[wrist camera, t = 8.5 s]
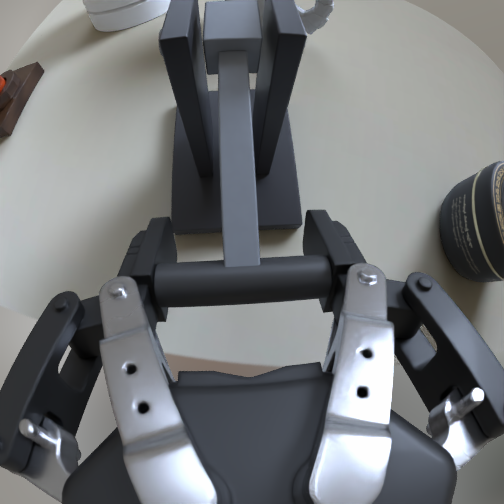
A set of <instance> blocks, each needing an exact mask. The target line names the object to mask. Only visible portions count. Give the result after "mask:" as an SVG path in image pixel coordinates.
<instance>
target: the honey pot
mask: <svg viewBox="0 0 504 504" xmlns="http://www.w3.org/2000/svg"><path fill="white" fill-rule="evenodd" d="M170 1H171V0H83V3H84V5H85V8H86V9H87V12H88V15H89V17H90V19H91V21H92V23H93V25H94V27H95V28H96V30H99V31H105V32H111V31H117V30H123V29H126V28H130V27H134V26H136V25H139V24H142V23H145V22H147V21H149V20H152V19H154V18H156V17H158V16H160V15H162V14H163V13H165V12H167V11H168V8H169V5H170Z"/></svg>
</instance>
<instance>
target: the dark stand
mask: <svg viewBox="0 0 504 504" xmlns="http://www.w3.org/2000/svg"><path fill="white" fill-rule="evenodd" d="M262 35H263V42H262V49H261V56H260V63H259V70H258V73H257V78H256V88H255V89H251V90H250V99H251V115H252V130H253V146H254V162H255V178H256V195H257V212H258V230H273V229H296V228H299V227H300V226H301V225H302V215H301V206H300V197H299V188H298V180H297V172H296V164H295V157H294V149H293V142H292V135H291V129H290V122H289V116H288V109H287V107H288V104H289V100H290V96H291V93H292V89H293V85H294V82H295V78H296V75H297V71H298V67H299V64H300V60H301V57H302V53H303V50H304V47H305V42H306V39H307V34H306V31H305V27H304V25H303V23H302V20H301V17H300V15H299V12H298V10H297V7H296V4H295V2H294V0H265V3H264V12H263V21H262ZM159 50H160V53H161V55H162V56H163V58H164V62H165V65H166V69H167V72H168V76H169V79H170V83H171V86H172V89H173V93H174V96H175V100H176V103H177V110H176V122H175V135H174V151H173V171H172V212H171V223H172V228H173V233H174V234H175V235H182V234H198V233H214V232H222V213H221V188H220V157H219V106H218V91H208V86H207V78H206V69H205V61H204V53H203V44H202V35H201V26H200V17H199V7H198V0H171V1H170V5H169V8H168V11H167V14H166V17H165V21H164V24H163V27H162V29H161V30H160V32H159Z"/></svg>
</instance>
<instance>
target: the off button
mask: <svg viewBox="0 0 504 504" xmlns="http://www.w3.org/2000/svg"><path fill="white" fill-rule="evenodd" d="M5 84H6V81H5V80H4V79H3V78H2V76H1V75H0V92H1V91H2V89H3V87H4V86H5Z"/></svg>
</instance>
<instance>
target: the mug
mask: <svg viewBox="0 0 504 504" xmlns="http://www.w3.org/2000/svg"><path fill="white" fill-rule="evenodd" d="M225 1H231V0H225ZM257 1H258V5H259V12H260V20H261V27H262V21H263V12H264V3H265V0H257ZM296 7H297V10H298V12H299V15H300V17H301V20H302V23H303V25H304V27H305V31H306V32H307V33H308V34H312V33H313V32H314V31H315V30H316V29H319V28H321V27H322V26H324V25H325V23H326V22H327V21H328V16H329V15H330V13H331V12H332V10H333V8H334V3H333V0H316V3H315V6H314V7H312V8H311V9H309V10H306V11H305V10H303V9H302V8H300V7H299V6H297V5H296Z"/></svg>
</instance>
